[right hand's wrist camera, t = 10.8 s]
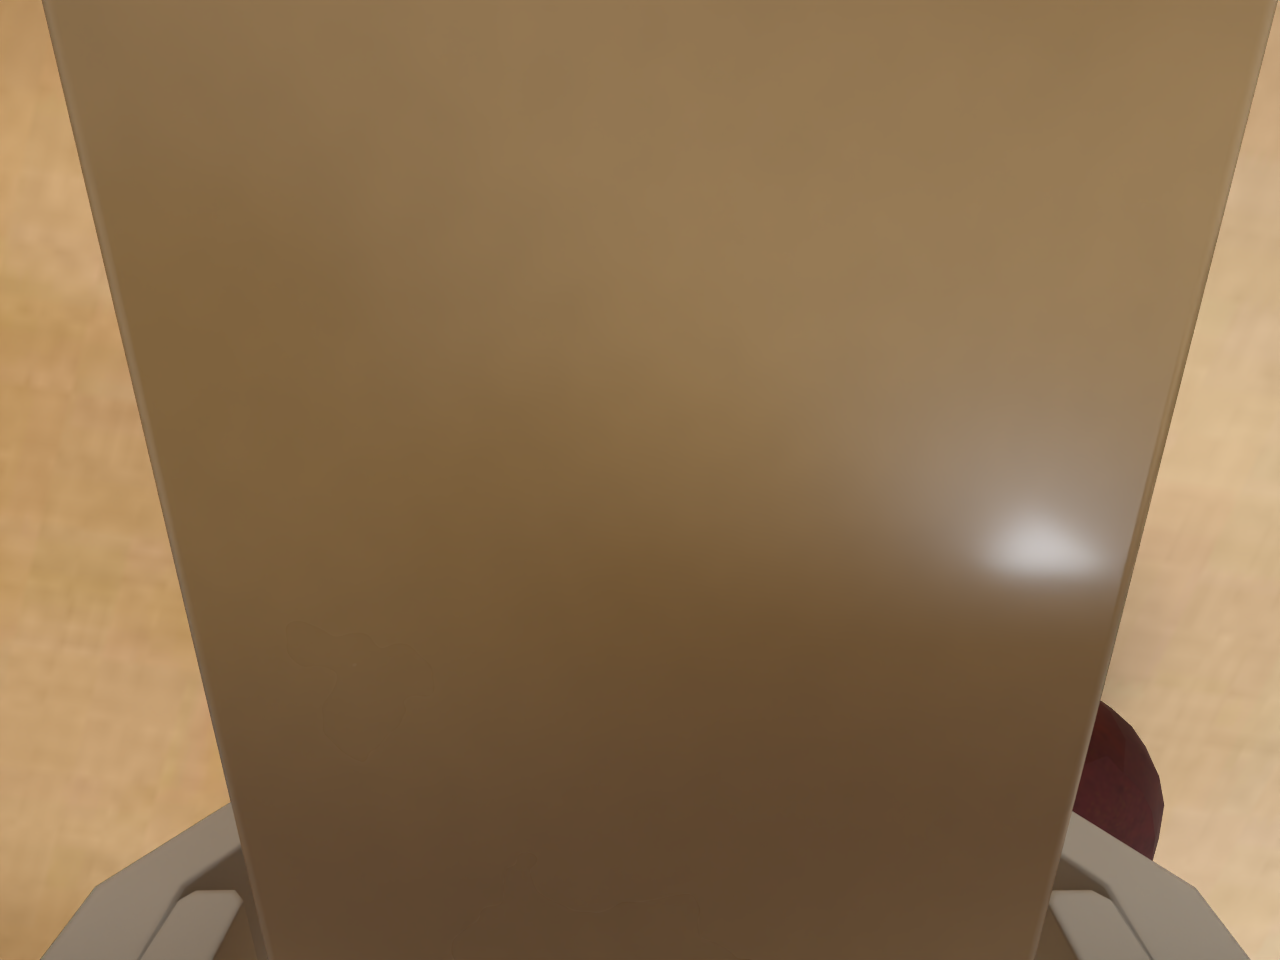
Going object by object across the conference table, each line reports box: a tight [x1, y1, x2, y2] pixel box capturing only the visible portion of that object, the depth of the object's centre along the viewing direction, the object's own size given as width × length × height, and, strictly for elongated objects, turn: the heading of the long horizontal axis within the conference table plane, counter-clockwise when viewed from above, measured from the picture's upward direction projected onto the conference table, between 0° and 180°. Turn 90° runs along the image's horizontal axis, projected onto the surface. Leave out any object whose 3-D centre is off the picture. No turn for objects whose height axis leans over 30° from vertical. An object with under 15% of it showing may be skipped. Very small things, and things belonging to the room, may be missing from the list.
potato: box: [1072, 701, 1164, 861], centre depth 27 cm, size 7×8×7 cm
